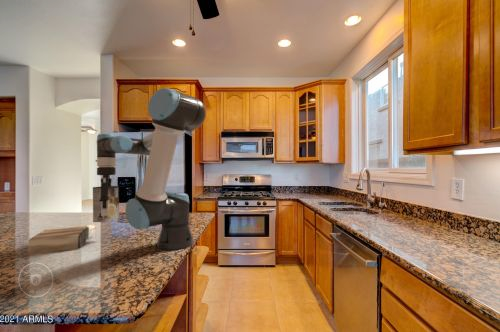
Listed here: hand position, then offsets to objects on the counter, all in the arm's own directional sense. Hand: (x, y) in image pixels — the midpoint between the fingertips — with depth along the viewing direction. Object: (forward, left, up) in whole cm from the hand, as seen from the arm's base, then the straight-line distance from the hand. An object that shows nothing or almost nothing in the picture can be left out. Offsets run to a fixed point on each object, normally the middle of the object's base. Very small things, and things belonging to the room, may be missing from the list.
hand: (106, 213), depth 111 cm
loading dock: (0, +17, -13) cm, 21 cm away
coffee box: (0, 0, -3) cm, 3 cm away
